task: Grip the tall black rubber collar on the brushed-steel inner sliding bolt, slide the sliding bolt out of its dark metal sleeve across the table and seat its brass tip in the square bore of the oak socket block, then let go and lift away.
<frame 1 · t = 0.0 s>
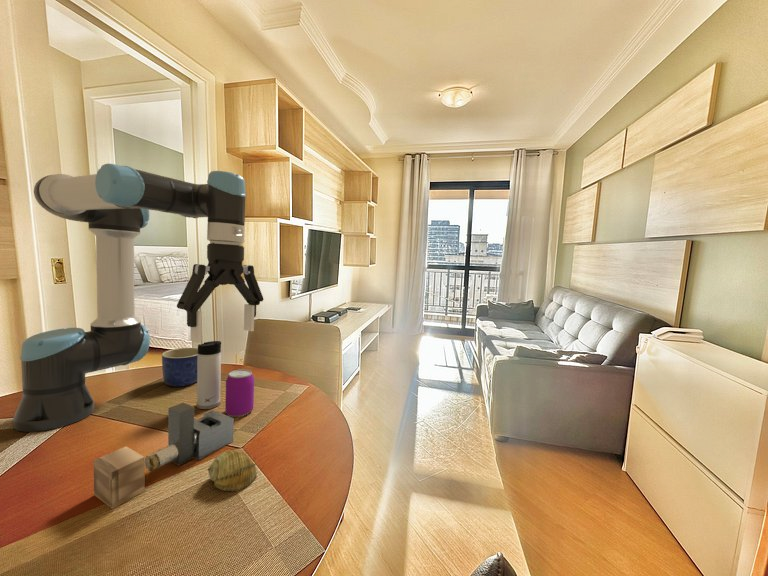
hand: (224, 335, 73), 28 cm above the table, fingers open, 13 cm apart
planter: (182, 382, 113), on the table
seashell: (234, 480, 67), on the table
travel mug: (209, 405, 97), on the table
sleeve: (194, 453, 74), on the table
socket: (119, 475, 60), on the table
beverage can: (239, 412, 94), on the table
sliding bolt: (186, 430, 72), point 6 cm above the table, slide at 0.0 cm
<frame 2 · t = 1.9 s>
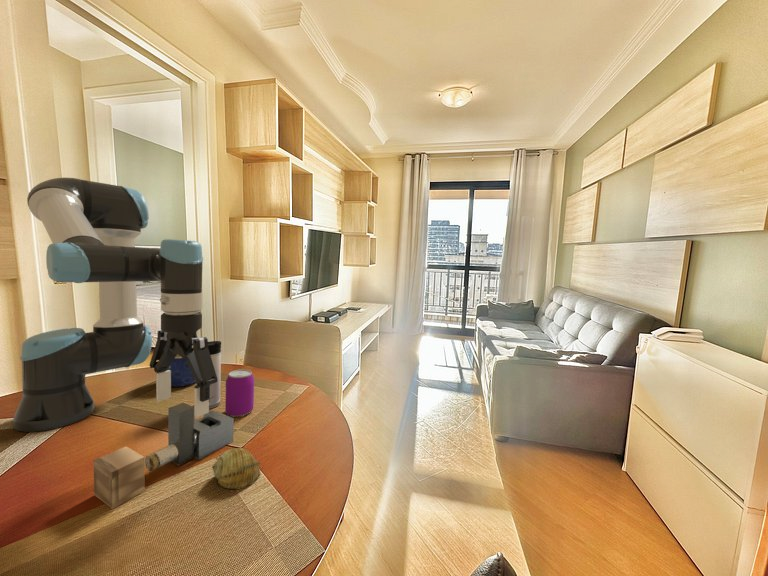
hand: (181, 406, 70), 13 cm above the table, fingers open, 13 cm apart
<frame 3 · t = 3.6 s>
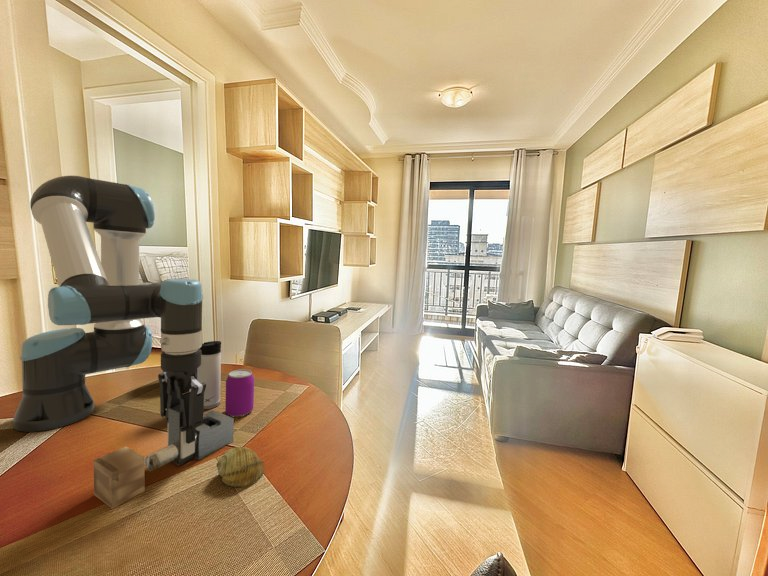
hand: (181, 451, 71), 2 cm above the table, fingers closed on sliding bolt, 4 cm apart
sliding bolt: (186, 430, 72), point 6 cm above the table, slide at 0.0 cm, touching gripper
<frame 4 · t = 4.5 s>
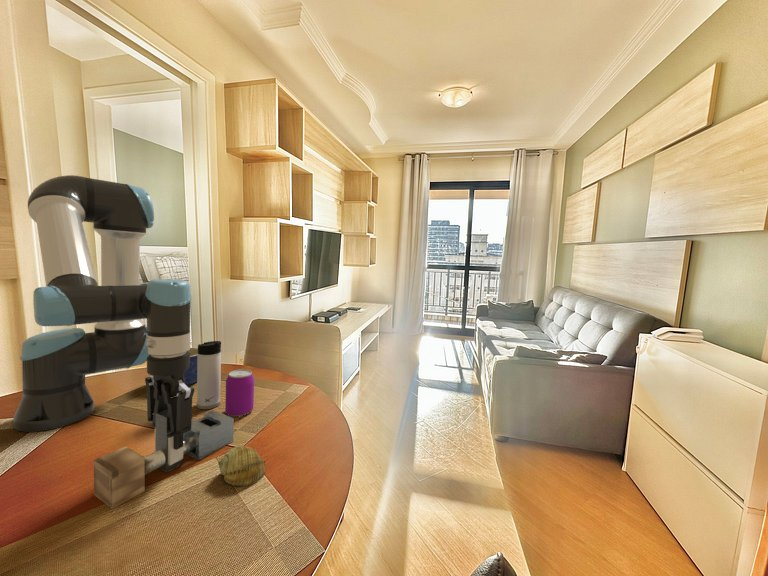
hand: (168, 457, 69), 2 cm above the table, fingers closed on sliding bolt, 4 cm apart
sliding bolt: (175, 436, 69), point 6 cm above the table, slide at 2.6 cm, touching gripper
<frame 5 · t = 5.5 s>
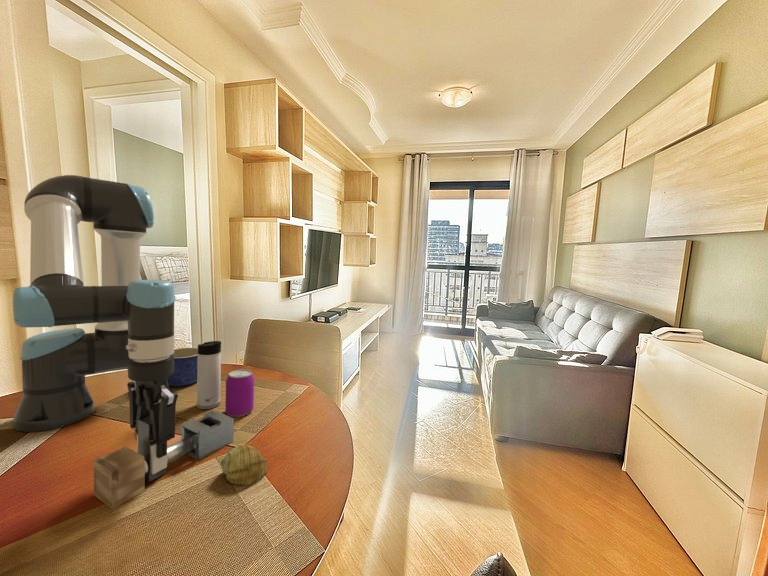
hand: (152, 466, 66), 2 cm above the table, fingers closed on sliding bolt, 4 cm apart
sliding bolt: (158, 443, 66), point 6 cm above the table, slide at 5.9 cm, touching gripper
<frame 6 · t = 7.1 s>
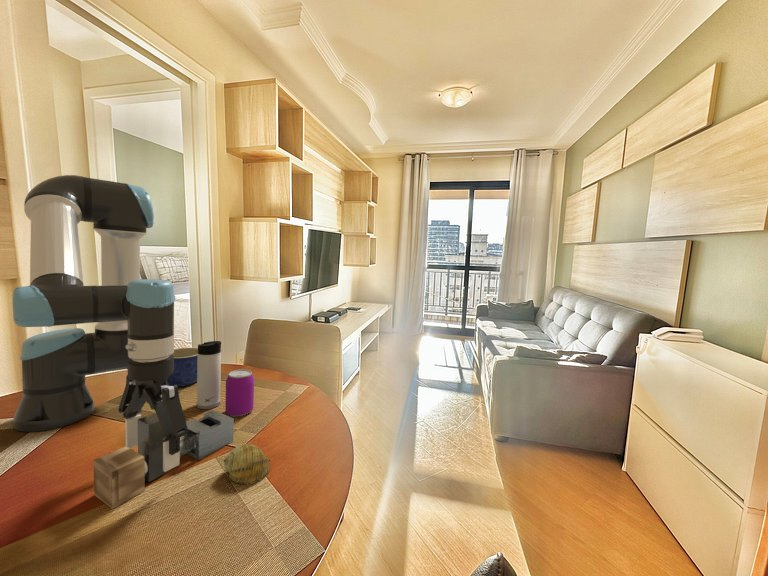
hand: (151, 456, 65), 4 cm above the table, fingers open, 13 cm apart
sliding bolt: (158, 443, 66), point 6 cm above the table, slide at 6.0 cm
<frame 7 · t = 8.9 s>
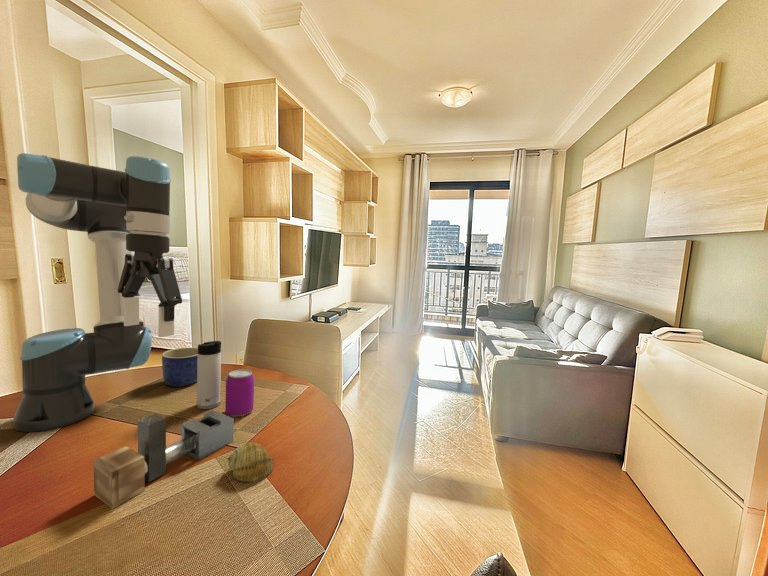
hand: (148, 330, 70), 29 cm above the table, fingers open, 13 cm apart
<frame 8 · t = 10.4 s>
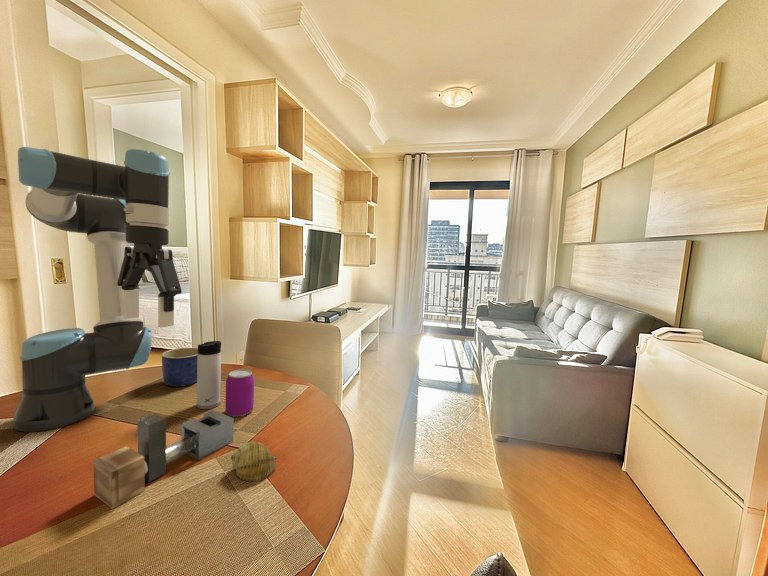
hand: (148, 322, 71), 31 cm above the table, fingers open, 13 cm apart
at the end: sliding bolt slide at 6.0 cm; the gripper is holding nothing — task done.
